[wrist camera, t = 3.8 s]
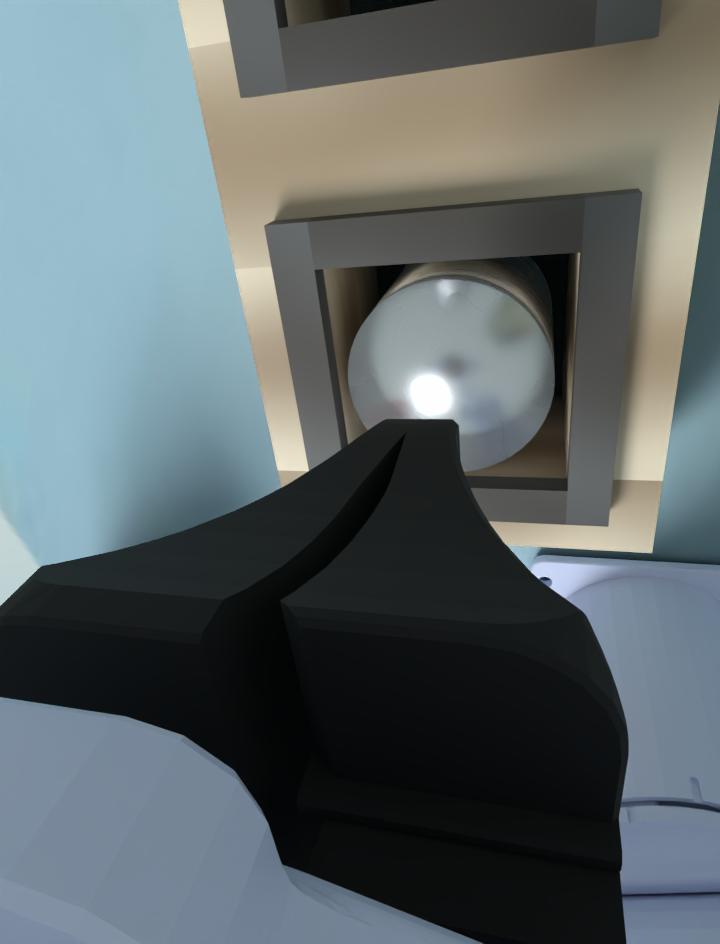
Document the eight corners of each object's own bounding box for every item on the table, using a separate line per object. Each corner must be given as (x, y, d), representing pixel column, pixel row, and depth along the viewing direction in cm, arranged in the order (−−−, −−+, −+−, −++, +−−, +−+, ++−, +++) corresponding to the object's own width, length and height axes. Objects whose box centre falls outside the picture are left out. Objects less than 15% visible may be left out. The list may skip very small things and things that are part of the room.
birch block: (630, 457, 20) (655, 567, 16) (336, 452, 23) (284, 545, 18) (753, -605, 10) (925, -1167, 6) (205, -392, 13) (17, -657, 8)
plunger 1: (549, 390, 19) (550, 475, 15) (396, 392, 20) (360, 470, 16) (555, 226, 17) (559, 272, 13) (382, 239, 18) (335, 285, 14)
